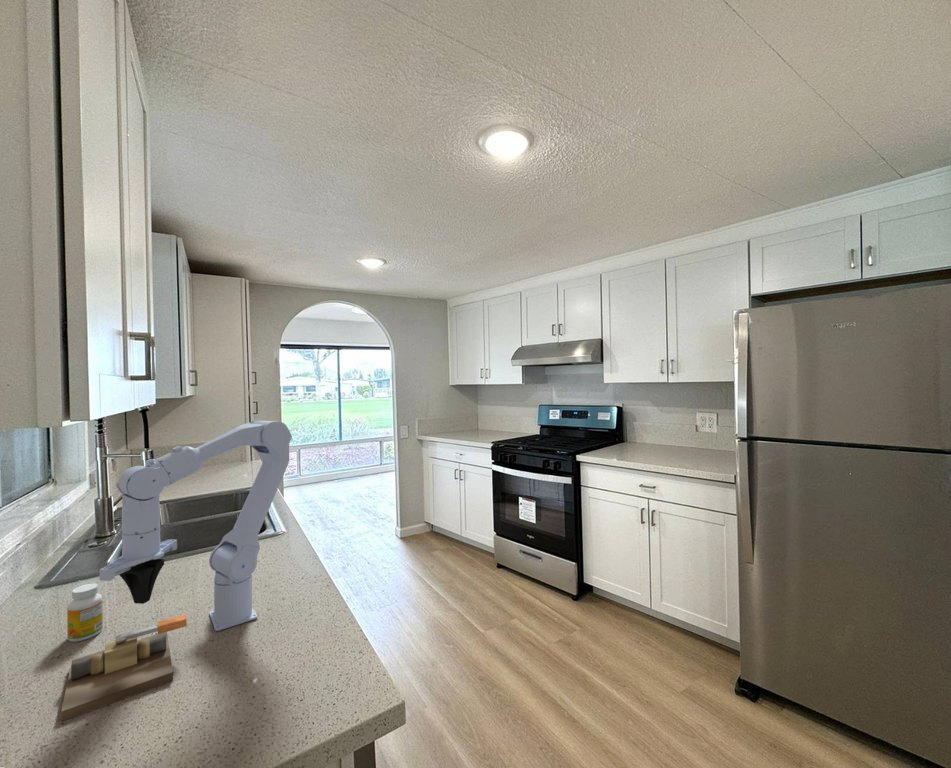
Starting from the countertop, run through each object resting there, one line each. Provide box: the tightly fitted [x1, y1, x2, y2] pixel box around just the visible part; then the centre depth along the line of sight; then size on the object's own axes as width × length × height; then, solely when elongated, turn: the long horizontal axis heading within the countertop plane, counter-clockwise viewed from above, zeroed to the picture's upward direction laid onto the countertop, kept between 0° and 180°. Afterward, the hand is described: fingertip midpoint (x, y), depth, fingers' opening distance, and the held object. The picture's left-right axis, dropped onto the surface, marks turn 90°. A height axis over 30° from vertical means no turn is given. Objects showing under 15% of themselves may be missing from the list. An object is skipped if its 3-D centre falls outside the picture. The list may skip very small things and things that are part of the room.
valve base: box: [60, 632, 174, 722], centre depth 76 cm, size 16×14×5 cm
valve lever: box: [114, 613, 188, 644], centre depth 79 cm, size 10×2×1 cm, turn 126°
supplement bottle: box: [66, 583, 104, 643], centre depth 88 cm, size 5×5×10 cm
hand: (142, 601), depth 81 cm, fingers closed
